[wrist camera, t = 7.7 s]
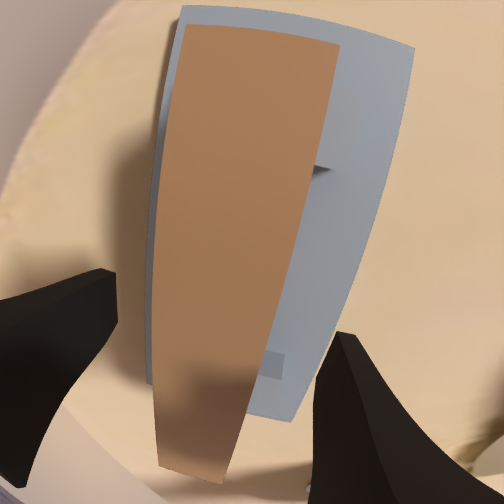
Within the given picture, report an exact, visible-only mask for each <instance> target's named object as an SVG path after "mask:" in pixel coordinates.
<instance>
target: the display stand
mask: <svg viewBox="0 0 504 504" xmlns="http://www.w3.org/2000/svg"><path fill="white" fill-rule="evenodd" d="M186 24H199V25H218V26H231V27H242V28H251V29H259V30H266V31H273V32H280V33H286V34H292V35H297V36H302V37H307V38H312V39H317V40H321V41H325V42H330V43H334V44H338V45H340V49H339V54H338V59H337V64H336V69H335V74H334V79H333V83H332V88H331V93H330V98H329V102H328V107H327V112H326V116H325V121H324V125H323V130H322V134H321V139H320V143H319V147H318V152H317V156H316V160H315V165H314V169H313V173H312V177H311V181H310V185H309V190H308V194H307V198H306V202H305V206H304V210H303V214H302V218H301V222H300V226H299V230H298V233H297V237H296V241H295V245H294V249H293V253H292V256H291V260H290V264H289V268H288V271H287V275H286V279H285V282H284V286H283V290H282V293H281V297H280V300H279V304H278V308H277V311H276V315H275V318H274V322H273V325H272V329H271V332H270V335H269V339H268V342H267V346H266V349H265V352H264V356H263V359H262V363H261V366H260V369H259V372H258V376H257V379H256V382H255V386H254V389H253V392H252V395H251V398H250V402H249V405H248V408H247V411H246V413H247V414H252V415H256V416H260V417H265V418H270V419H274V420H279V421H284V422H290V423H291V422H292V420H293V418H294V416H295V414H296V412H297V410H298V408H299V406H300V404H301V402H302V400H303V398H304V396H305V394H306V392H307V389H308V387H309V385H310V383H311V381H312V379H313V377H314V375H315V372H316V370H317V368H318V366H319V364H320V361H321V359H322V357H323V355H324V352H325V350H326V348H327V346H328V343H329V341H330V339H331V336H332V334H333V331H334V329H335V327H336V324H337V322H338V319H339V317H340V314H341V312H342V309H343V307H344V304H345V302H346V299H347V297H348V294H349V291H350V289H351V286H352V283H353V281H354V278H355V275H356V273H357V270H358V267H359V264H360V261H361V259H362V256H363V253H364V250H365V247H366V244H367V241H368V238H369V235H370V232H371V229H372V226H373V223H374V220H375V216H376V213H377V210H378V207H379V203H380V200H381V197H382V193H383V190H384V186H385V183H386V179H387V176H388V172H389V168H390V165H391V161H392V157H393V153H394V149H395V145H396V141H397V137H398V133H399V129H400V124H401V120H402V115H403V111H404V106H405V101H406V96H407V91H408V86H409V81H410V75H411V69H412V64H413V57H414V51H415V48H413V47H410V46H408V45H405V44H403V43H400V42H397V41H394V40H391V39H388V38H385V37H382V36H379V35H376V34H373V33H370V32H367V31H363V30H360V29H356V28H353V27H349V26H345V25H341V24H337V23H333V22H329V21H325V20H320V19H315V18H310V17H305V16H300V15H294V14H288V13H282V12H275V11H268V10H260V9H251V8H240V7H226V6H202V5H182V9H181V13H180V17H179V21H178V25H177V29H176V34H175V38H174V43H173V47H172V52H171V56H170V61H169V66H168V71H167V77H166V82H165V87H164V93H163V99H162V105H161V111H160V118H159V124H158V131H157V138H156V146H155V154H154V162H153V171H152V181H151V191H150V203H149V215H148V230H147V248H146V274H145V349H146V374H147V384H150V385H153V377H152V284H153V260H154V243H155V228H156V215H157V204H158V193H159V184H160V174H161V166H162V158H163V150H164V142H165V135H166V128H167V122H168V115H169V109H170V103H171V97H172V91H173V86H174V80H175V75H176V70H177V65H178V60H179V55H180V50H181V46H182V41H183V37H184V33H185V28H186Z"/></svg>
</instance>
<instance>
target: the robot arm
mask: <svg viewBox="0 0 504 504" xmlns="http://www.w3.org/2000/svg"><path fill="white" fill-rule="evenodd" d="M117 323H118V313H117V295H116V273H115V272H111V271H108V270H105V269H102V268H100V269H95V270H92V271H89V272H85V273H82V274H80V275H77V276H74V277H71V278H68V279H65V280H63V281H60V282H57V283H54V284H52V285H49V286H46V287H43V288H40V289H37V290H34V291H31V292H28V293H25V294H21V295H18V296H15V297H11V298H7V299H3V300H0V476H2V477H3V478H4V479H5V480H7V481H8V482H9V483H10V484H12V485H13V486H14V487H16V488H24V487H26V485H27V480H28V477H29V474H30V471H31V468H32V465H33V462H34V459H35V457H36V454H37V451H38V449H39V447H40V444H41V442H42V439H43V437H44V435H45V433H46V431H47V429H48V427H49V425H50V423H51V420H52V419H53V417H54V415H55V413H56V411H57V410H58V408H59V406H60V404H61V403H62V401H63V399H64V397H65V396H66V394H67V393H68V391H69V390H70V389H71V387H72V386H73V385H74V383H75V382H76V381H77V379H78V378H79V377H80V376H81V374H82V373H83V372H84V370H85V369H86V368H87V367H88V365H89V364H90V363H91V362H92V360H93V359H94V358H95V357H96V355H97V354H98V353H99V351H100V350H101V349H102V348H103V346H104V345H105V343H106V342H107V340H108V338H109V337H110V335H111V334H112V332H113V330H114V328H115V326H116V325H117ZM306 491H307V492H309V499H308V504H504V496H503V495H502V494H500V493H498V492H497V491H495V490H493V489H492V488H490V487H489V486H487V485H485V484H484V483H482V482H481V481H479V480H478V479H476V478H475V477H473V476H472V475H471V474H470V473H468V472H467V471H466V470H464V469H463V468H462V467H460V466H459V465H458V464H457V463H456V462H455V461H453V460H452V459H451V458H450V457H449V456H448V455H447V454H445V453H444V452H443V451H442V450H441V449H440V448H439V447H438V446H437V445H436V444H435V443H434V442H433V441H432V440H431V439H430V438H429V437H428V436H427V435H426V434H425V433H424V431H423V430H422V429H421V428H420V427H419V426H418V424H417V423H416V422H415V421H414V420H413V419H412V418H411V416H410V415H409V414H408V413H407V411H406V410H405V409H404V407H403V406H402V405H401V403H400V402H399V401H398V399H397V398H396V397H395V395H394V394H393V392H392V391H391V390H390V388H389V387H388V385H387V384H386V382H385V381H384V379H383V378H382V376H381V375H380V373H379V371H378V370H377V368H376V367H375V365H374V364H373V362H372V360H371V359H370V357H369V356H368V354H367V352H366V351H365V349H364V348H363V346H362V344H361V343H360V341H359V340H358V338H357V337H356V335H353V334H348V333H344V332H339V331H337V332H336V334H335V336H334V339H333V341H332V343H331V346H330V348H329V350H328V352H327V355H326V357H325V359H324V361H323V363H322V366H321V368H320V370H319V372H318V374H317V376H316V383H315V391H314V400H313V469H312V480H311V483H310V485H309V486H308V487H307V488H306ZM0 504H24V503H22V502H21V501H20V500H18V499H17V498H16V497H14V496H13V495H12V494H10V493H9V492H8V491H7V490H5V489H4V488H3V487H1V486H0Z"/></svg>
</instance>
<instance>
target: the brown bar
mask: <svg viewBox="0 0 504 504" xmlns="http://www.w3.org/2000/svg"><path fill="white" fill-rule="evenodd" d="M339 49H340V45H338V44H334V43H330V42H325V41H321V40H317V39H312V38H307V37H302V36H297V35H292V34H286V33H280V32H273V31H266V30H259V29H251V28H242V27H231V26H218V25H199V24H186V28H185V33H184V37H183V41H182V46H181V50H180V55H179V60H178V65H177V70H176V75H175V80H174V86H173V91H172V97H171V103H170V109H169V115H168V122H167V128H166V135H165V142H164V150H163V158H162V166H161V174H160V184H159V193H158V204H157V215H156V228H155V243H154V260H153V284H152V377H153V400H154V417H155V431H156V443H157V453H158V463H159V466H161V467H164V468H167V469H169V470H172V471H175V472H179V473H182V474H185V475H188V476H191V477H195V478H198V479H202V480H205V481H209V482H213V483H217V484H221V485H222V483H223V480H224V477H225V475H226V472H227V469H228V466H229V463H230V460H231V457H232V454H233V451H234V448H235V445H236V442H237V439H238V436H239V433H240V430H241V427H242V424H243V420H244V417H245V414H246V411H247V408H248V405H249V402H250V398H251V395H252V392H253V389H254V386H255V382H256V379H257V376H258V372H259V369H260V366H261V363H262V359H263V356H264V352H265V349H266V346H267V342H268V339H269V335H270V332H271V329H272V325H273V322H274V318H275V315H276V311H277V308H278V304H279V300H280V297H281V293H282V290H283V286H284V282H285V279H286V275H287V271H288V268H289V264H290V260H291V256H292V253H293V249H294V245H295V241H296V237H297V233H298V230H299V226H300V222H301V218H302V214H303V210H304V206H305V202H306V198H307V194H308V190H309V185H310V181H311V177H312V173H313V169H314V165H315V160H316V156H317V152H318V147H319V143H320V139H321V134H322V130H323V125H324V121H325V116H326V112H327V107H328V102H329V98H330V93H331V88H332V83H333V79H334V74H335V69H336V64H337V59H338V54H339Z"/></svg>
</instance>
